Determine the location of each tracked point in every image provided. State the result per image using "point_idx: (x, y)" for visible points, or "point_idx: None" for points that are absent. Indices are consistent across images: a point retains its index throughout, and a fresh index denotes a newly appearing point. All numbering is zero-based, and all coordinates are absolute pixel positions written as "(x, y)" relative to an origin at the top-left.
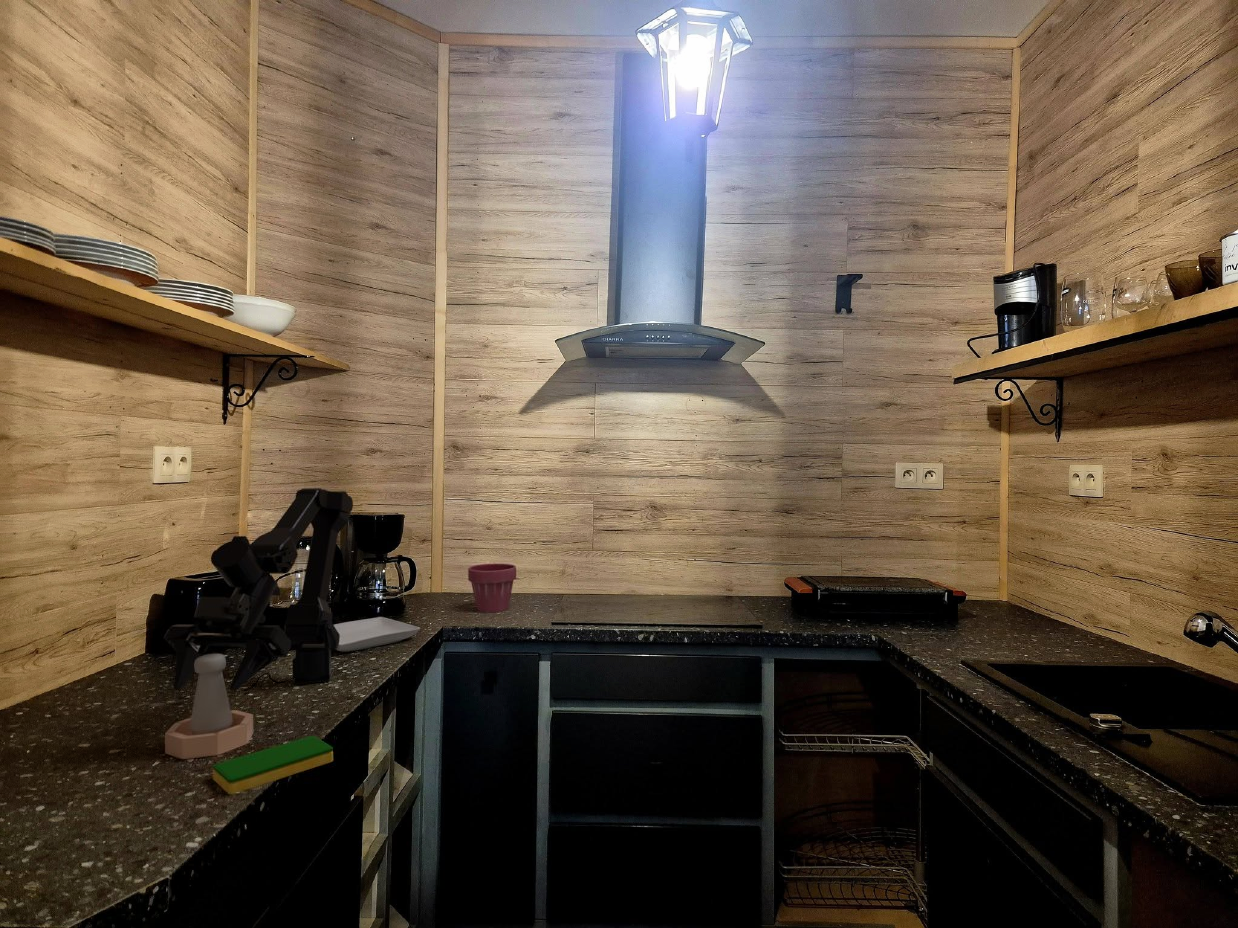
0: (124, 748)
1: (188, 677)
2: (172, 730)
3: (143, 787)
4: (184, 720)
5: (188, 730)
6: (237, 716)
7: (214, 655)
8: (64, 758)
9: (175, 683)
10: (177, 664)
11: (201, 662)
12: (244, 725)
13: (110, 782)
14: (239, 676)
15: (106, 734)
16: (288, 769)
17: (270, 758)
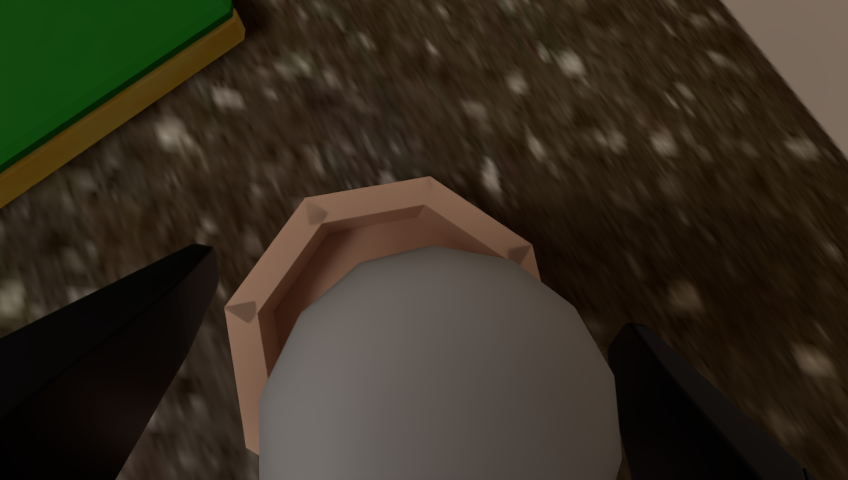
0: (667, 315)
1: (636, 474)
2: None
3: (429, 12)
4: None
5: None
6: None
7: (387, 442)
8: (792, 254)
9: (651, 339)
10: (809, 478)
11: (476, 260)
12: (231, 300)
13: (543, 61)
14: (105, 286)
15: (812, 456)
16: None
17: (28, 13)
